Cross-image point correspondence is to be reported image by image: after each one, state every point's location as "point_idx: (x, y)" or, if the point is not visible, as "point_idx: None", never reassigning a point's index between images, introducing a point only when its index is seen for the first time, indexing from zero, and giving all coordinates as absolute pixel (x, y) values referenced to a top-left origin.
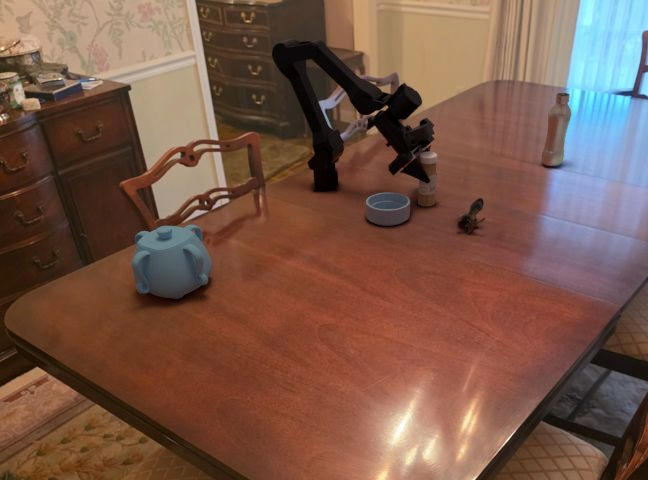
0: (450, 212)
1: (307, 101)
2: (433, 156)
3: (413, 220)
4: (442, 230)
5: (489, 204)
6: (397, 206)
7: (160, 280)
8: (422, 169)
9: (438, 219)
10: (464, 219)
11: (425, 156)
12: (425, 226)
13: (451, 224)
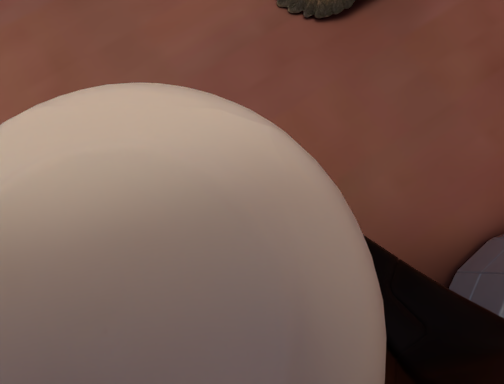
0: (268, 106)
1: None
2: (192, 100)
3: (487, 206)
4: (475, 22)
5: (79, 14)
6: None
7: None
8: (386, 276)
9: (382, 106)
10: None
11: (339, 290)
12: (500, 111)
13: (387, 27)
